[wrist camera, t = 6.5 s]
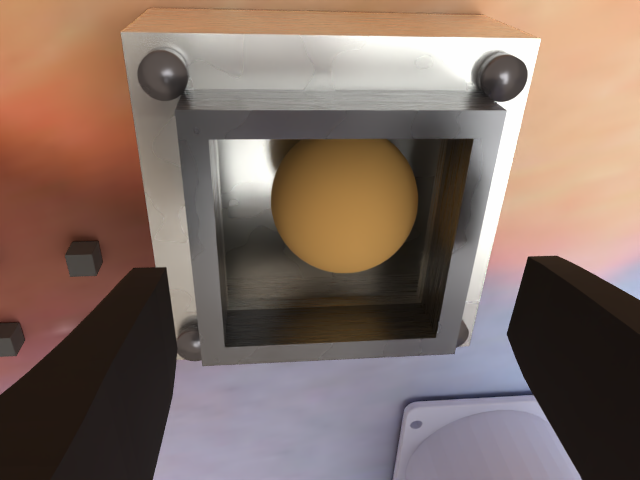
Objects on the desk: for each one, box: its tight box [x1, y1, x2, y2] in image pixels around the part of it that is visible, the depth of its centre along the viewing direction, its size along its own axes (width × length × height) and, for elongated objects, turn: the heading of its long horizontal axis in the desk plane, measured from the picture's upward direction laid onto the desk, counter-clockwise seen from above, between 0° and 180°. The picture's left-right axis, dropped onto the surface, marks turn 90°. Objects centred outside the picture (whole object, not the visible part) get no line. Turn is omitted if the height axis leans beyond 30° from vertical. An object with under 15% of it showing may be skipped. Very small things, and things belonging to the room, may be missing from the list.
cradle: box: [0, 241, 103, 357], centre depth 18 cm, size 4×4×1 cm
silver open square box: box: [121, 8, 541, 366], centre depth 14 cm, size 9×9×5 cm
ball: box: [271, 139, 418, 273], centre depth 15 cm, size 4×4×4 cm
